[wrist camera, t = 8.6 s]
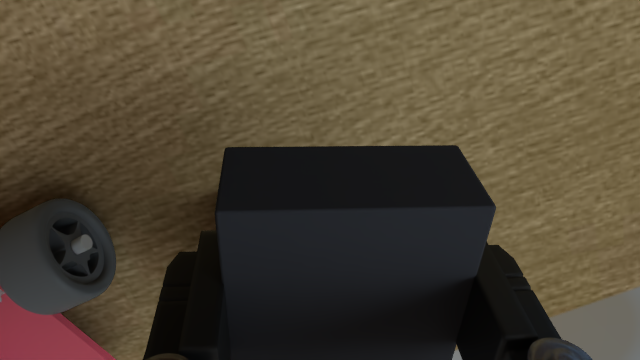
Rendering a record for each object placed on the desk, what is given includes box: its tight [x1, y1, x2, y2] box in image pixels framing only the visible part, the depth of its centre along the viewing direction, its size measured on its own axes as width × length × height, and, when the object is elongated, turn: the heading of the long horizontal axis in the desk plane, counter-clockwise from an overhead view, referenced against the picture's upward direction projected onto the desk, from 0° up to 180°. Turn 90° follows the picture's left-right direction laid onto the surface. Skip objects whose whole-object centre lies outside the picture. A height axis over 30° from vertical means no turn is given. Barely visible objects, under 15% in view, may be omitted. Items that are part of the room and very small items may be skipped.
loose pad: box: [215, 145, 496, 360], centre depth 13 cm, size 8×6×2 cm, turn 178°
